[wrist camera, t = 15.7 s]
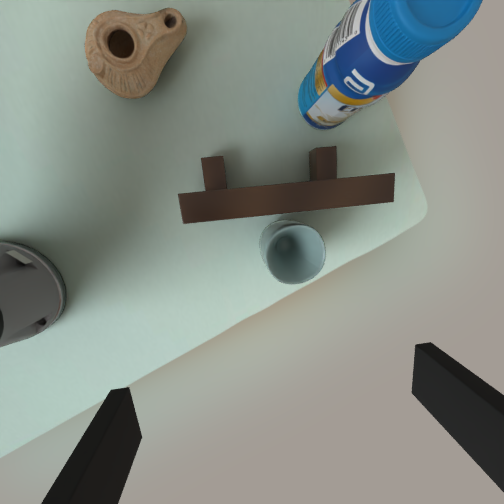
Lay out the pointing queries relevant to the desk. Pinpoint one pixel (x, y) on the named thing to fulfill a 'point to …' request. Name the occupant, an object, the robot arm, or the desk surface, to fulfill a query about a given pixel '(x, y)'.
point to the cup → (292, 251)
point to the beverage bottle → (376, 54)
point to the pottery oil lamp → (132, 48)
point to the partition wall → (283, 192)
